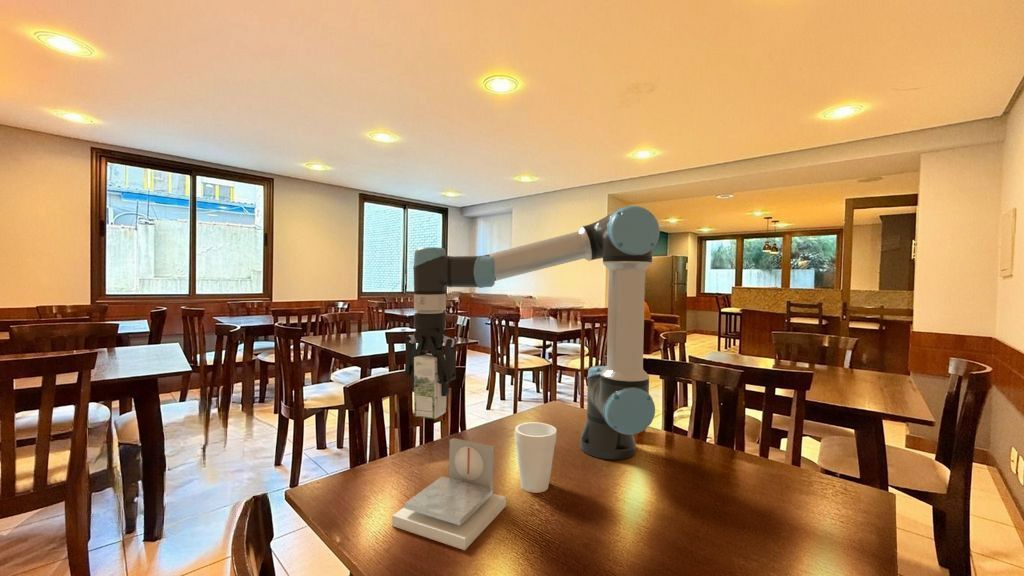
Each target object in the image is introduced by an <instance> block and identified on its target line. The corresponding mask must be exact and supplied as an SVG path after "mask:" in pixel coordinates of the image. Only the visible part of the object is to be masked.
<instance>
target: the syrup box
mask: <svg viewBox="0 0 1024 576" xmlns="http://www.w3.org/2000/svg"><path fill="white" fill-rule="evenodd" d="M444 358H445V354H444ZM439 381H440V379H439V375H438V371H437V357H434V356H433V355H432V353H427V354H425V355H421V356H416V357H414V392H413V393H414V394H413V405H415V407H414V417H417V418H424V419H432V420H436V419H438V418H439V417H441V416H442V415H444V414H445V413H446V411H447V410H446V409H447V407H446V408H445V409H442V410H440V411H438V410H437V383H438V382H439Z"/></svg>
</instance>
